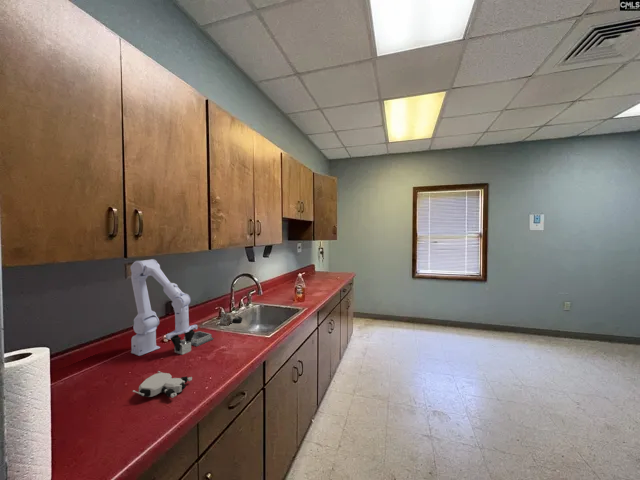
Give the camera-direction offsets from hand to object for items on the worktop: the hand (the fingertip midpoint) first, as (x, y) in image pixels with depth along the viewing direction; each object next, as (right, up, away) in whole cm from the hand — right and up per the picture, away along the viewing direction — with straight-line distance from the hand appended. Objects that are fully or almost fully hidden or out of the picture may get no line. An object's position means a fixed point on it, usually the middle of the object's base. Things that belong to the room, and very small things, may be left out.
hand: (182, 348), depth 121 cm
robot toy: (+11, -2, -31) cm, 33 cm away
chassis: (+1, -1, +12) cm, 13 cm away
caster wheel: (+10, -1, +39) cm, 40 cm away
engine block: (0, -1, 0) cm, 1 cm away
